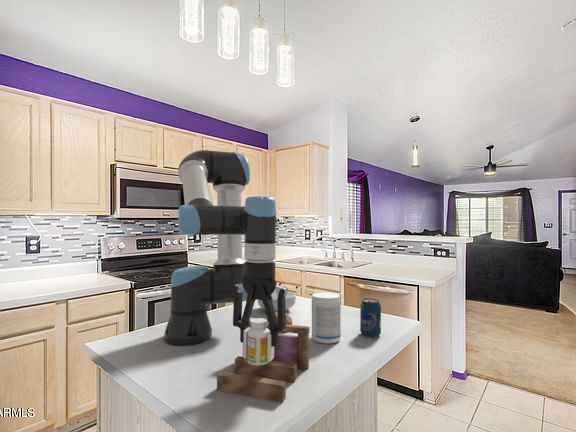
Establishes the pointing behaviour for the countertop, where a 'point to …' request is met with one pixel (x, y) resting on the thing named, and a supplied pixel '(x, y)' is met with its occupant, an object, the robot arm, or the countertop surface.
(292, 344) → the wooden rack
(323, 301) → the supplement tub
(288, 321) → the bread roll
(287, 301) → the cereal bowl
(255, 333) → the supplement bottle
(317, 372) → the countertop surface
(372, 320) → the soda can
